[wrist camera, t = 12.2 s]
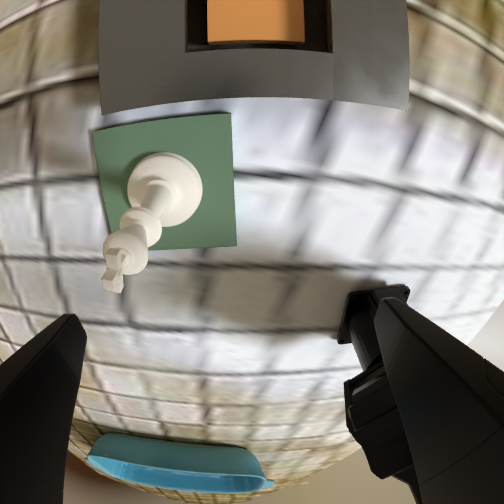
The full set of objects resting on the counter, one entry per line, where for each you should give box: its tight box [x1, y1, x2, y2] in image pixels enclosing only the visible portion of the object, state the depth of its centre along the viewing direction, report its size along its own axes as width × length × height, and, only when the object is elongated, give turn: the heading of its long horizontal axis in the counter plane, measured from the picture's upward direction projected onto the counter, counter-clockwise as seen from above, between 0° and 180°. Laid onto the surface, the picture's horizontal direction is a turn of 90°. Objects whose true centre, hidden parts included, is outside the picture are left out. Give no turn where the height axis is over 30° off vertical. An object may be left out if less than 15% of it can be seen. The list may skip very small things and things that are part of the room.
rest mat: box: [92, 113, 237, 251], centre depth 18 cm, size 9×9×1 cm
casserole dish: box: [85, 433, 274, 494], centre depth 42 cm, size 37×22×7 cm, turn 84°
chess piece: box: [101, 152, 203, 293], centre depth 13 cm, size 5×5×10 cm
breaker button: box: [207, 0, 305, 45], centre depth 11 cm, size 5×5×1 cm
